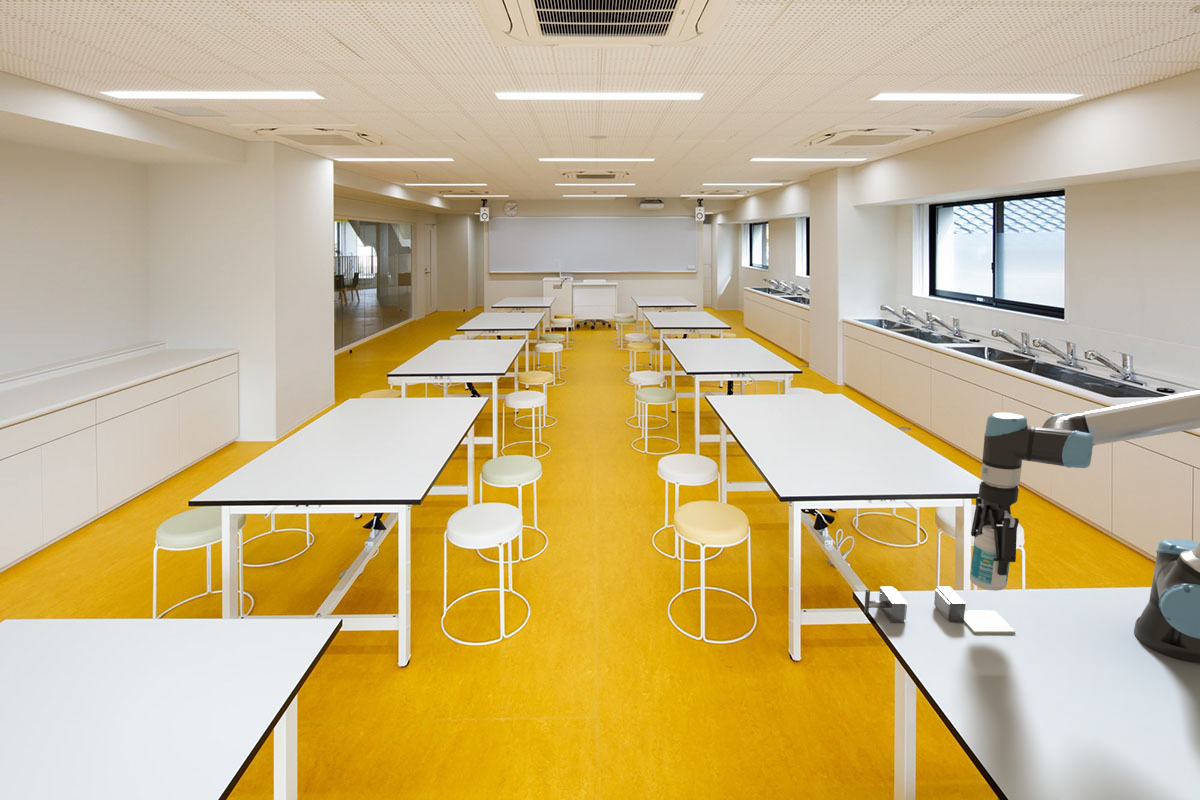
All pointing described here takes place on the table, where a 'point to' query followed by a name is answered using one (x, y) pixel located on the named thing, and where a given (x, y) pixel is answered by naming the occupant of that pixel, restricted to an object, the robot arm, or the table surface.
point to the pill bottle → (984, 560)
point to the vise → (897, 606)
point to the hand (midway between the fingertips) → (988, 577)
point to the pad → (987, 623)
